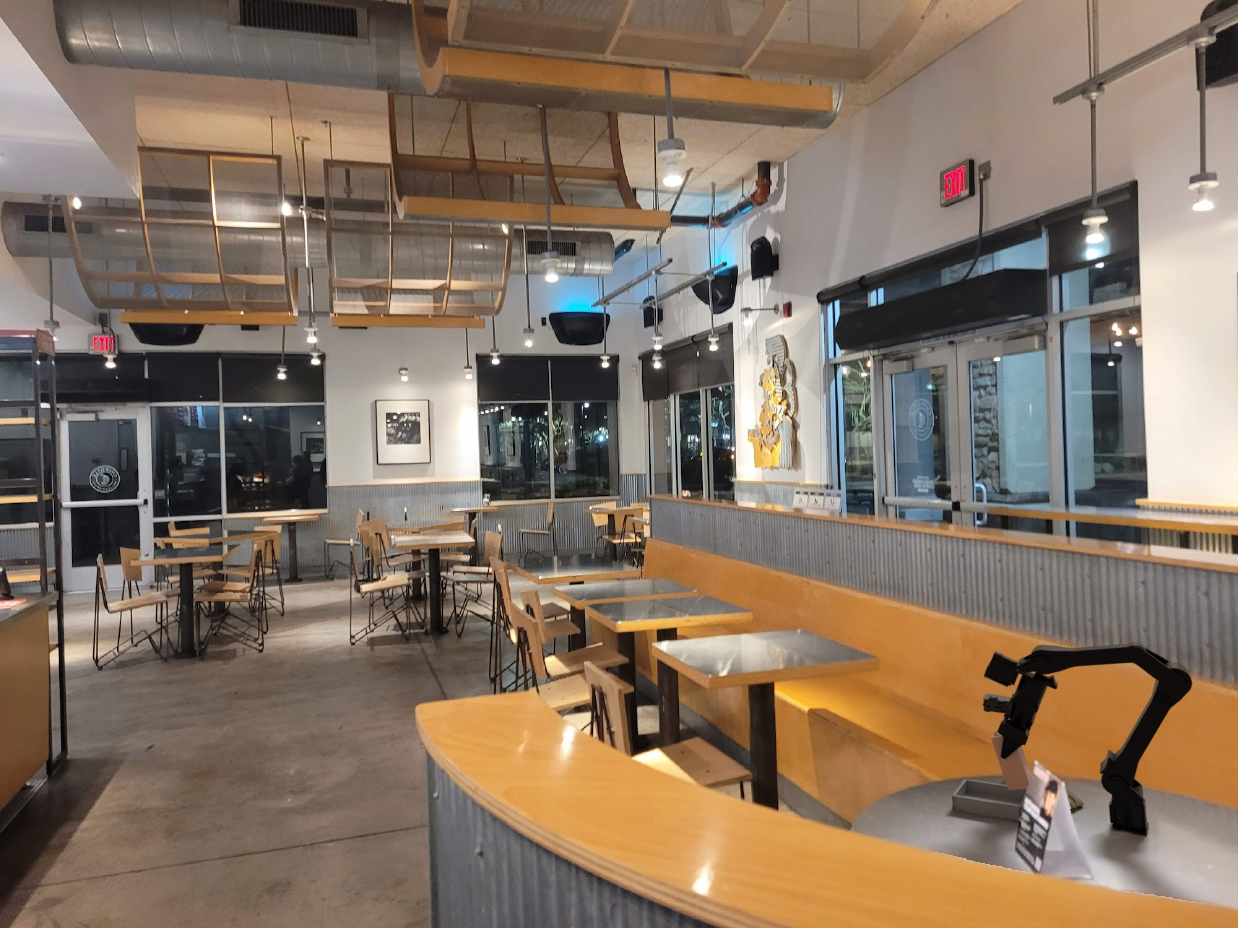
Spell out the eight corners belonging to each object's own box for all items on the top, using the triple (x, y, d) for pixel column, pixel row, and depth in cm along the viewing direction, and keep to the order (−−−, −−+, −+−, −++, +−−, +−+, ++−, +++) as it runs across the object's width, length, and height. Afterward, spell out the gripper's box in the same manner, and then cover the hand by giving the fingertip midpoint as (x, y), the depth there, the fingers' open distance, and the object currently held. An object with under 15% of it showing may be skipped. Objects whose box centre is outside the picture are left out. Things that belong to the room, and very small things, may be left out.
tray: (1032, 803, 193) (1031, 788, 193) (1022, 822, 183) (1021, 807, 183) (965, 792, 202) (964, 778, 202) (953, 810, 192) (952, 795, 192)
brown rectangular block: (1033, 780, 190) (1015, 728, 192) (1031, 788, 186) (1012, 734, 188) (1011, 782, 193) (993, 731, 195) (1008, 790, 188) (990, 737, 190)
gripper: (998, 671, 200) (976, 726, 203) (987, 690, 184) (963, 749, 187) (1045, 692, 194) (1022, 748, 197) (1038, 713, 179) (1013, 774, 182)
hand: (1004, 754), depth 191 cm, fingers closed on brown rectangular block, 5 cm apart
